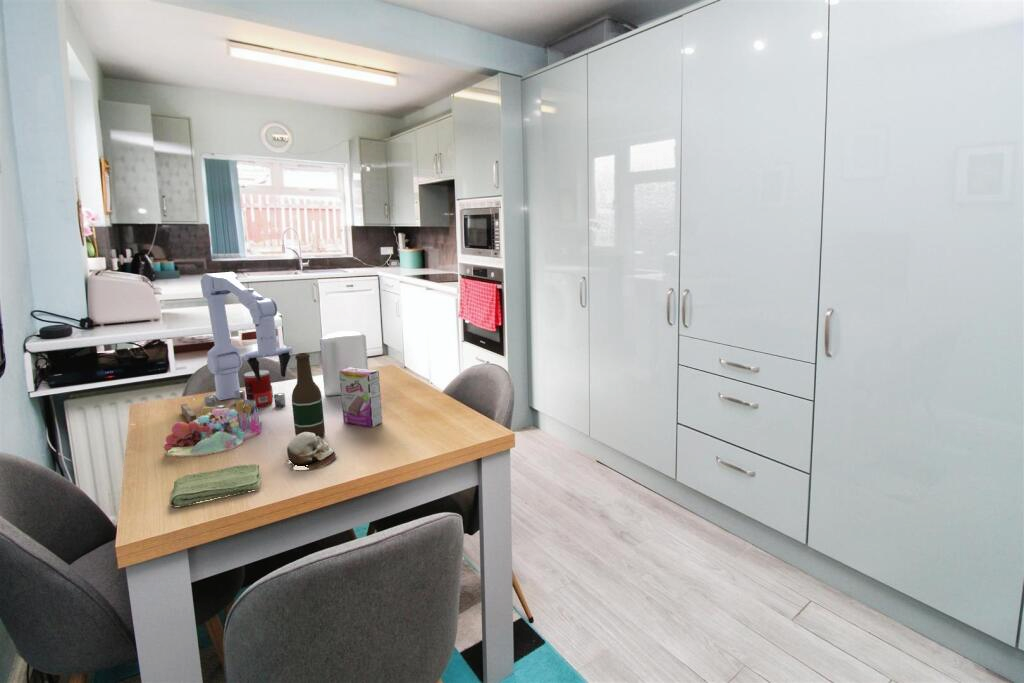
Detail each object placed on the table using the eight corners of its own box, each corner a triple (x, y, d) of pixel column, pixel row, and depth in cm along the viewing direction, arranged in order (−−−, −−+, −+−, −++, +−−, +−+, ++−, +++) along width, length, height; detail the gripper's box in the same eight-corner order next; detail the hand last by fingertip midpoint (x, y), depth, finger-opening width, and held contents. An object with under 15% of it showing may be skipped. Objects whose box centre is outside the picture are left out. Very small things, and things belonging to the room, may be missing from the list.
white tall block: (341, 384, 206) (336, 327, 202) (377, 385, 204) (373, 327, 200) (322, 396, 191) (316, 334, 187) (361, 397, 189) (356, 335, 185)
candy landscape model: (175, 432, 160) (170, 401, 159) (263, 419, 169) (259, 391, 168) (159, 463, 138) (154, 429, 136) (261, 447, 147) (257, 415, 145)
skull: (326, 443, 145) (332, 422, 138) (336, 477, 140) (343, 458, 133) (278, 452, 139) (282, 431, 132) (287, 489, 134) (292, 469, 127)
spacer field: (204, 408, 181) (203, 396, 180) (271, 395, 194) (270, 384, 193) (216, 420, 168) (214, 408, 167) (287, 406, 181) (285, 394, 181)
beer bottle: (297, 444, 147) (288, 358, 142) (294, 435, 154) (285, 352, 149) (327, 439, 151) (319, 354, 146) (323, 430, 157) (315, 349, 153)
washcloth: (262, 493, 121) (261, 479, 120) (169, 512, 113) (167, 498, 112) (259, 471, 132) (258, 458, 132) (175, 487, 124) (173, 474, 124)
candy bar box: (342, 423, 163) (337, 370, 160) (353, 418, 168) (349, 366, 164) (372, 428, 159) (368, 373, 155) (383, 423, 163) (379, 369, 160)
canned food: (277, 400, 187) (273, 369, 185) (264, 408, 180) (261, 375, 177) (256, 400, 188) (252, 369, 186) (242, 408, 180) (238, 375, 178)
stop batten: (182, 413, 176) (180, 404, 176) (187, 412, 177) (186, 403, 177) (191, 425, 164) (190, 416, 164) (197, 424, 165) (196, 415, 165)
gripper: (245, 342, 167) (250, 385, 169) (293, 335, 176) (297, 376, 178) (239, 339, 172) (244, 380, 175) (286, 333, 181) (291, 372, 184)
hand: (271, 378), depth 177 cm, fingers open, 7 cm apart
